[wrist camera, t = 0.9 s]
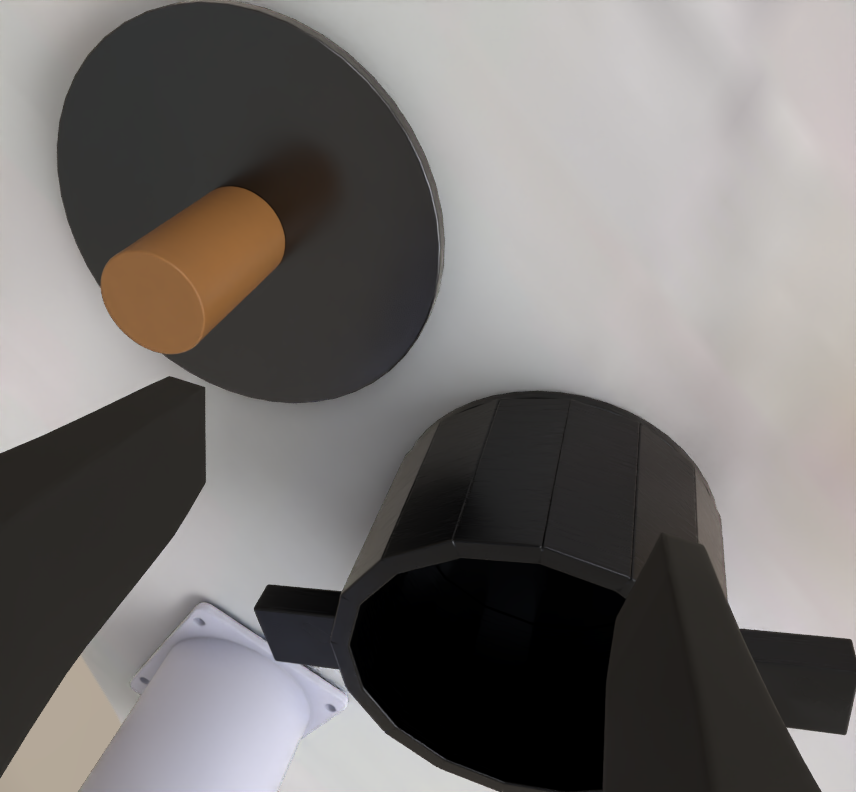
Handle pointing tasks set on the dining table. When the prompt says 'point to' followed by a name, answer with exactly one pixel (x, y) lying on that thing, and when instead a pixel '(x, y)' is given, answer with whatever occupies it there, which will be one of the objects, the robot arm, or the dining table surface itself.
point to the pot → (524, 592)
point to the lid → (250, 201)
